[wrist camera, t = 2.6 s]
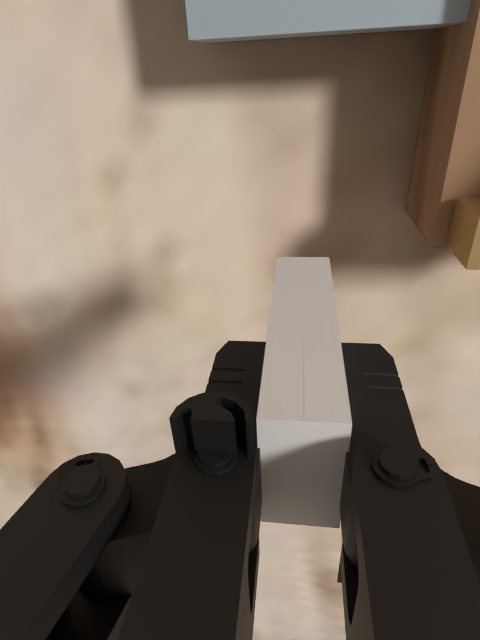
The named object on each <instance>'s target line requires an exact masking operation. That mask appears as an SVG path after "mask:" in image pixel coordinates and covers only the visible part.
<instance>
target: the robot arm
mask: <svg viewBox="0 0 480 640" xmlns="http://www.w3.org/2000/svg"><path fill="white" fill-rule="evenodd" d="M169 419H170V424H171V430H172V435H173V440H174V446H175V451H176V453H175V454H173V455H171V456H169V457H167V458H165V459H163V460H160V461H156V462H153V463H149V464H144V465H139V466H135V467H130V468H125V469H124V467H123V465H122V464H121V462H120V460H118V459H116V458H115V457H113V456H111V455H109V454H103V453H90V454H85V455H80V456H77V457H75V458H73V459H71V460H69V461H67V462H65V463H63V464H62V465H60V466H59V467H58V468H57V469H56V470H55V471H53V472H52V473H51V474H50V475H49V476H48V477H47V478H46V479H45V480H44V482H43V483H42V484H41V485H40V486H39V487H38V488H37V489H36V490H35V492H34V493H33V494H32V495H31V496H30V497H29V498H28V499H27V501H26V502H25V503H24V504H23V505H22V506H21V507H20V508H19V509H18V511H17V512H16V513H15V514H14V515H13V516H12V517H11V518H10V519H9V521H8V522H7V523H6V524H5V525H4V526H3V527H2V528H1V529H0V640H252V635H253V623H254V611H255V599H256V587H257V575H258V564H259V528H260V521H263V522H274V523H286V524H297V525H308V526H320V527H331V528H339V526H340V518H341V529H342V541H343V543H342V550H341V557H340V565H339V572H338V580H337V582H339V583H342V589H343V603H344V616H345V630H346V640H480V487H478V486H475V485H472V484H469V483H466V482H464V481H461V480H459V479H457V478H454V477H453V476H451V475H449V474H448V473H446V472H444V471H443V470H441V469H440V468H439V466H438V464H437V463H436V461H435V459H434V458H433V457H432V456H431V455H430V454H428V453H427V452H426V451H425V450H424V449H423V448H422V447H421V445H420V443H419V440H418V437H417V434H416V430H415V427H414V424H413V421H412V417H411V414H410V411H409V408H408V404H407V401H406V398H405V395H404V391H403V390H402V385H401V381H400V378H399V377H398V372H397V368H396V365H395V362H394V359H393V357H392V356H391V355H390V354H389V353H388V352H387V351H386V350H385V349H384V348H383V347H382V346H381V345H380V344H365V343H341V339H340V332H339V325H338V318H337V310H336V303H335V296H334V289H333V281H332V274H331V267H330V260H329V257H277V261H276V269H275V276H274V284H273V292H272V300H271V308H270V316H269V324H268V331H267V339H266V342H251V341H228V342H227V343H226V344H225V345H224V346H223V347H222V348H221V349H220V350H219V351H218V352H217V353H216V356H215V360H214V363H213V367H212V371H211V374H210V377H209V383H208V384H207V387H206V391H205V393H201V394H199V395H196V396H193V397H190V398H188V399H186V400H185V401H184V402H182V403H181V404H180V405H178V406H177V407H176V408H175V410H174V412H173V413H172V415H171V416H170V418H169Z"/></svg>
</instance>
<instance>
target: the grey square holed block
mask: <svg viewBox="0 0 480 640" xmlns="http://www.w3.org/2000/svg"><path fill="white" fill-rule="evenodd" d="M470 4H471V0H185V7H186V17H187V28H188V38H189V40H191V41H197V42H204V43H216V42H232V41H247V40H263V39H278V38H294V37H310V36H325V35H341V34H356V33H372V32H388V31H403V30H419V29H434V28H440V27H445V26H450V25H454V24H459V23H464V22H467V19H468V14H469V9H470Z"/></svg>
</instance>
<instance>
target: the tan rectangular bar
mask: <svg viewBox="0 0 480 640" xmlns="http://www.w3.org/2000/svg"><path fill="white" fill-rule="evenodd" d="M447 246H448V247H449V249H450V250H451V251H452V252H453V254H454V255H455V256H456V257H457V259H458V260H459V261H460V262H461V264H462V265H463V266H464V267H465V269H472V270H480V197H466V198H457V201H456V205H455V210H454V214H453V219H452V223H451V228H450V232H449V237H448V241H447Z"/></svg>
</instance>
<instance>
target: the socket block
mask: <svg viewBox="0 0 480 640" xmlns="http://www.w3.org/2000/svg"><path fill="white" fill-rule="evenodd" d="M466 197H480V0H471V4H470V9H469V14H468V19H467V22H464V23H459V24H454V25H450V26H445V27H440V28H435V32H434V38H433V44H432V51H431V57H430V63H429V69H428V75H427V82H426V88H425V94H424V100H423V107H422V113H421V119H420V125H419V131H418V138H417V144H416V150H415V156H414V163H413V169H412V175H411V181H410V187H409V194H408V200H407V206H406V212H407V214H408V215H409V216H410V218H411V219H412V221H413V222H414V223H415V225H416V226H417V228H418V229H419V230H420V232H421V233H422V235H423V236H424V237H425V239H426V240H427V242H428V243H429V244H430V246H431V247H448V246H447V241H448V237H449V232H450V228H451V223H452V219H453V214H454V210H455V205H456V201H457V198H466Z"/></svg>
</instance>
